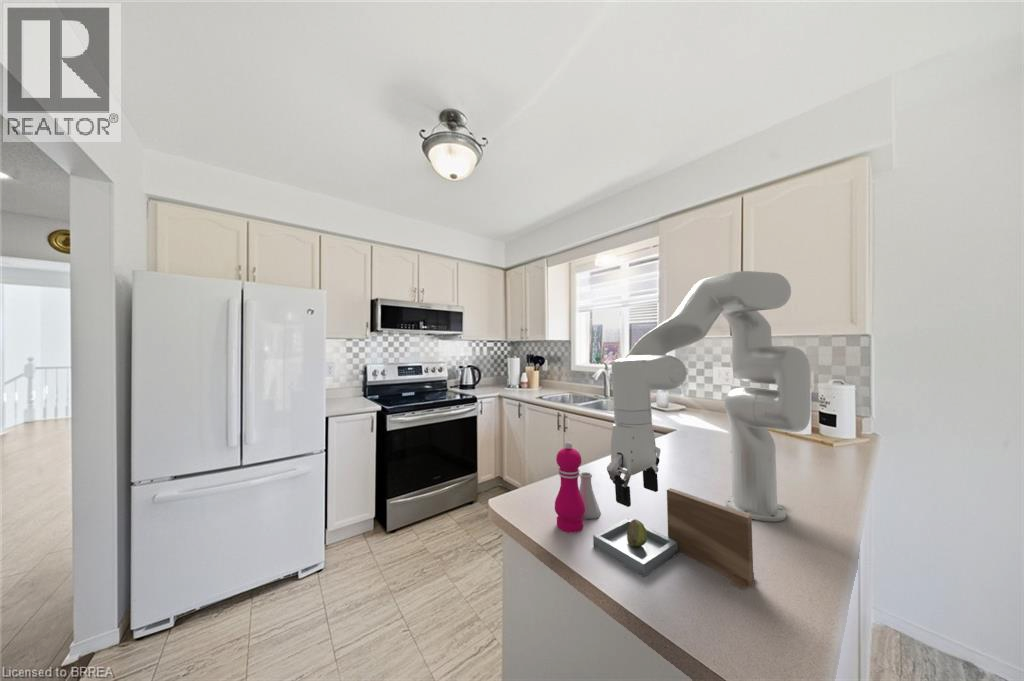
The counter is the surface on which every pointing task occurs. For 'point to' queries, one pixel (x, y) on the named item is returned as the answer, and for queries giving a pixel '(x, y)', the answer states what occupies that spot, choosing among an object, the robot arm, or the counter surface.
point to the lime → (636, 533)
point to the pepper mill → (569, 491)
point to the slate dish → (635, 548)
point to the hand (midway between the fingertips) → (637, 496)
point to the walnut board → (712, 535)
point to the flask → (588, 497)
